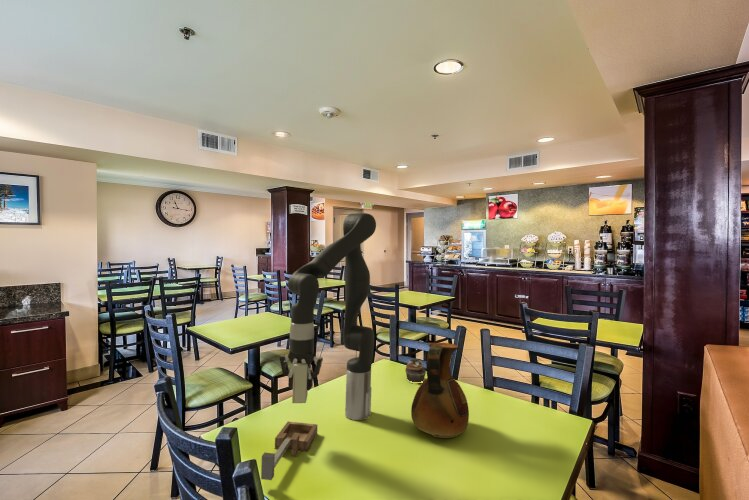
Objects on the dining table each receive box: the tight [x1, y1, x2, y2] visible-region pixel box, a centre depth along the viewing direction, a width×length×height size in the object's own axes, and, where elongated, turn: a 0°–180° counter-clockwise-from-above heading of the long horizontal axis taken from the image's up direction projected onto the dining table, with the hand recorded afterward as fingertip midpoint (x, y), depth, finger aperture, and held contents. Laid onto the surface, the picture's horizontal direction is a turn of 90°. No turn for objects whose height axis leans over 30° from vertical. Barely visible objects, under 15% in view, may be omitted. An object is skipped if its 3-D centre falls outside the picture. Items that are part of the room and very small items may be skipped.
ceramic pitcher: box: [410, 342, 470, 439], centre depth 122 cm, size 20×20×30 cm
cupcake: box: [405, 357, 427, 382], centre depth 166 cm, size 10×10×10 cm
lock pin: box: [260, 439, 291, 481], centre depth 98 cm, size 3×15×6 cm, turn 172°
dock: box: [274, 420, 318, 458], centre depth 111 cm, size 10×13×5 cm
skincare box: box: [291, 363, 308, 404], centre depth 112 cm, size 6×4×12 cm
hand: (300, 388), depth 112 cm, fingers closed on skincare box, 5 cm apart
